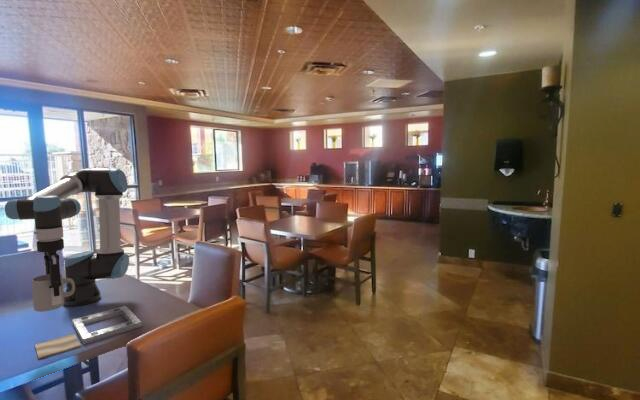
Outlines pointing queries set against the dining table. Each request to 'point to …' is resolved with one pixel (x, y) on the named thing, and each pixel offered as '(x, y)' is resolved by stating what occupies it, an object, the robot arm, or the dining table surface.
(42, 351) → the coaster
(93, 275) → the robot arm
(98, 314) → the grey square frame
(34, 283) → the mug
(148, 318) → the dining table surface
